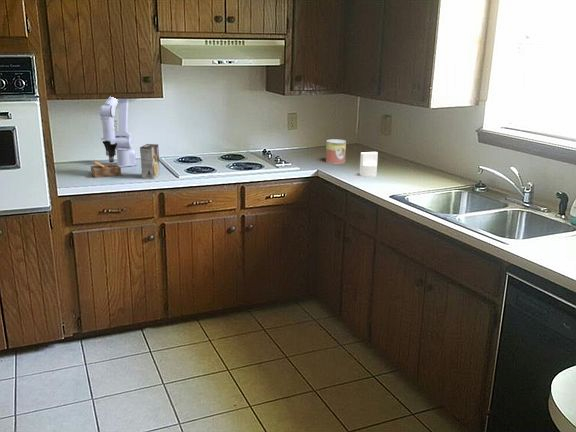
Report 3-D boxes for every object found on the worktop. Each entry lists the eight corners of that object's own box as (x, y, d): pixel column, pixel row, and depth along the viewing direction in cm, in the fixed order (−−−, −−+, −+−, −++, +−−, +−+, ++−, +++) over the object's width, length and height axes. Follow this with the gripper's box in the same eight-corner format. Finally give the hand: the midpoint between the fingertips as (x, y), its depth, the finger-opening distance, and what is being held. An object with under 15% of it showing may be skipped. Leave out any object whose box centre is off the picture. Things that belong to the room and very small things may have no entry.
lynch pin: (115, 160, 309) (114, 149, 308) (117, 162, 305) (116, 151, 304) (105, 161, 307) (104, 150, 305) (107, 163, 303) (106, 152, 301)
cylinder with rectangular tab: (363, 177, 309) (364, 154, 306) (356, 173, 317) (358, 151, 314) (379, 176, 312) (380, 154, 308) (372, 172, 320) (373, 150, 316)
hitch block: (116, 171, 314) (116, 163, 313) (121, 175, 305) (120, 167, 304) (91, 173, 308) (90, 166, 307) (95, 177, 300) (94, 170, 298)
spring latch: (102, 165, 306) (102, 164, 306) (103, 167, 303) (104, 166, 303) (93, 161, 304) (93, 159, 304) (94, 162, 300) (95, 161, 300)
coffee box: (148, 174, 309) (146, 143, 304) (160, 174, 308) (158, 144, 303) (141, 178, 300) (139, 147, 295) (153, 179, 299) (151, 147, 294)
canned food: (332, 164, 337) (333, 143, 334) (321, 160, 347) (322, 140, 343) (349, 162, 343) (350, 141, 339) (337, 158, 352) (338, 138, 348)
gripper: (97, 127, 305) (99, 153, 309) (103, 132, 293) (105, 159, 297) (111, 126, 308) (113, 152, 313) (118, 131, 296) (120, 157, 300)
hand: (110, 155), depth 305 cm, fingers closed on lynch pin, 5 cm apart
